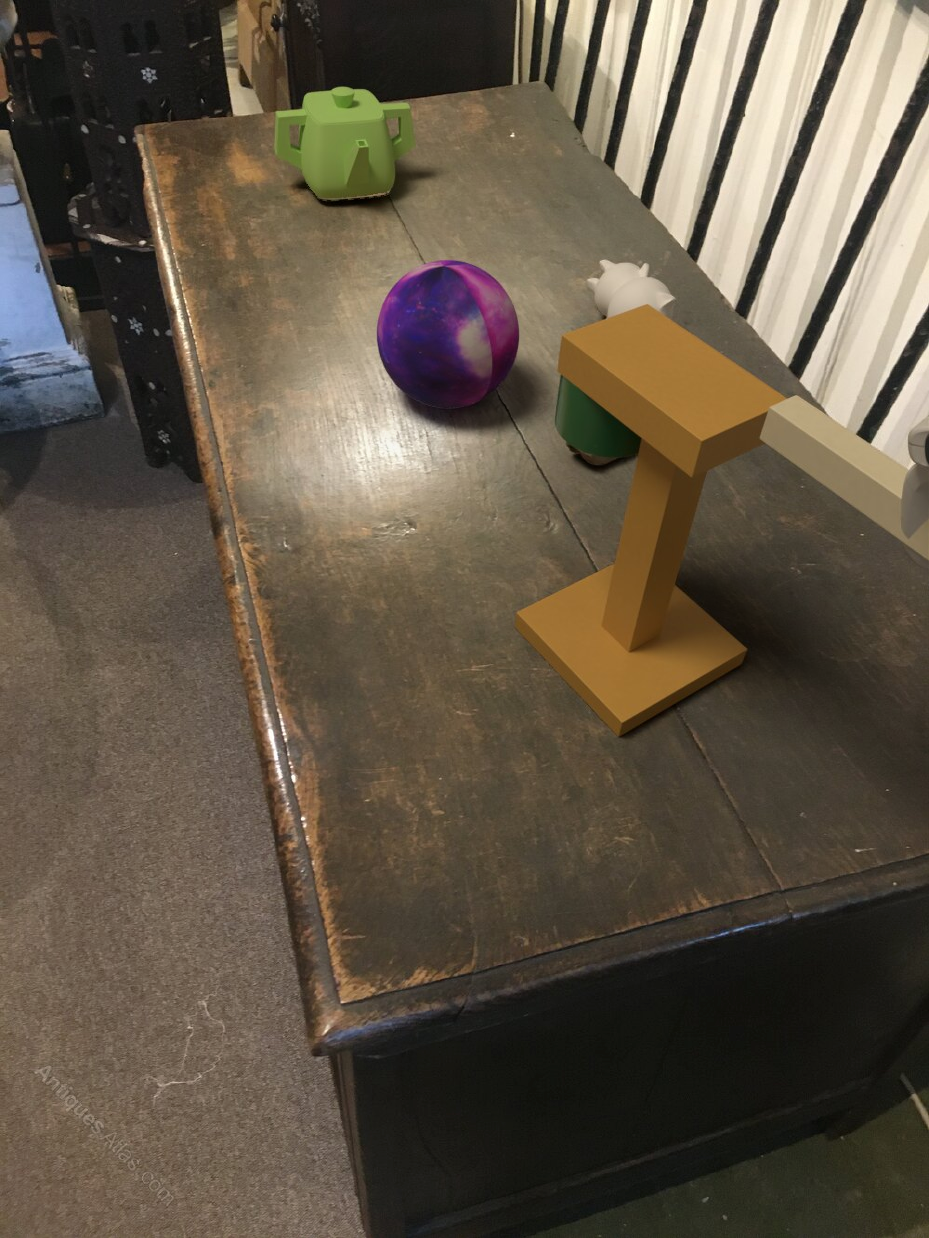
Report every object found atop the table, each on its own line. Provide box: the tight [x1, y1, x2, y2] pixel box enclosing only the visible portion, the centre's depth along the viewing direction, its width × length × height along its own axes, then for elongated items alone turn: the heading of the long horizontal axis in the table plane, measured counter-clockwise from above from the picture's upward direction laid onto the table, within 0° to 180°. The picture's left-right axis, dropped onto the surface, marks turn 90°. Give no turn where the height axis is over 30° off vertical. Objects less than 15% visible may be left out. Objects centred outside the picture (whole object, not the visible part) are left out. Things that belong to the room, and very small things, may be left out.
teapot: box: [273, 86, 416, 202], centre depth 136 cm, size 18×20×13 cm
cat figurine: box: [586, 259, 677, 321], centre depth 116 cm, size 9×11×12 cm
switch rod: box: [760, 394, 929, 561], centre depth 55 cm, size 15×3×3 cm, turn 35°
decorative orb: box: [376, 259, 520, 410], centre depth 102 cm, size 15×15×15 cm
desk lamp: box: [514, 304, 788, 738], centre depth 75 cm, size 18×14×27 cm
